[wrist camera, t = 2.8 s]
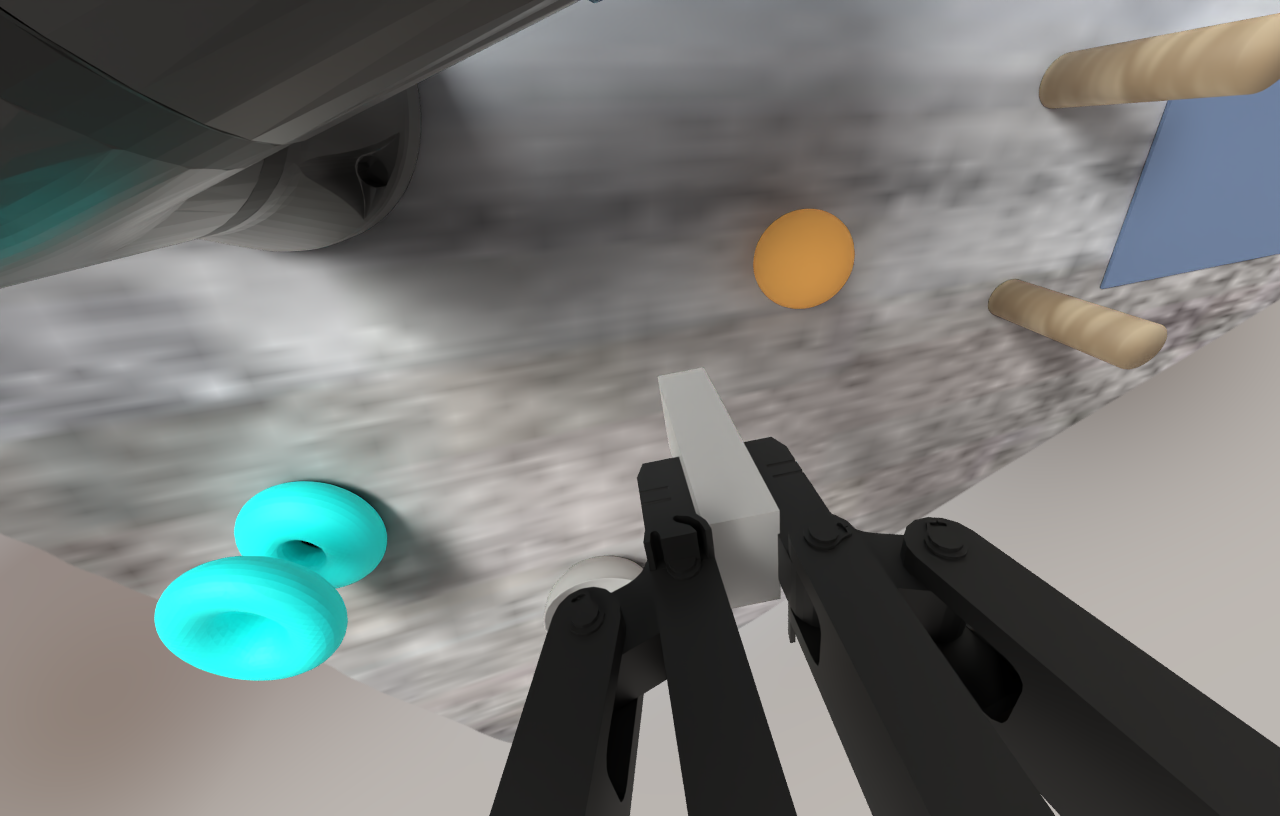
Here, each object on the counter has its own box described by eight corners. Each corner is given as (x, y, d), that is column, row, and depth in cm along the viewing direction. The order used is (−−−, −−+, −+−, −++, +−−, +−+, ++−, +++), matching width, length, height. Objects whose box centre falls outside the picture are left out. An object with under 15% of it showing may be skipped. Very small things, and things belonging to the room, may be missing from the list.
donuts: (364, 628, 28) (293, 705, 31) (416, 513, 36) (356, 582, 39) (175, 562, 24) (115, 658, 27) (284, 450, 32) (229, 533, 35)
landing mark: (1189, 41, 25) (1193, 40, 25) (1435, -8, 25) (1440, -8, 25) (1099, 288, 32) (1102, 288, 32) (1290, 250, 32) (1294, 250, 32)
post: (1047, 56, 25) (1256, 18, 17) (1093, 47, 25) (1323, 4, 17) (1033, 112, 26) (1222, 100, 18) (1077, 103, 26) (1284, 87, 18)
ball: (739, 212, 27) (771, 227, 22) (828, 195, 27) (880, 206, 23) (743, 301, 30) (773, 330, 25) (825, 284, 30) (869, 311, 25)
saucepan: (523, 574, 41) (518, 611, 38) (706, 497, 39) (717, 530, 35) (581, 634, 46) (581, 672, 43) (745, 570, 44) (758, 605, 41)
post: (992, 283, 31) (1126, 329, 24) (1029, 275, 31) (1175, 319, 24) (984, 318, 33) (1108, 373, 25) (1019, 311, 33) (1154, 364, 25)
